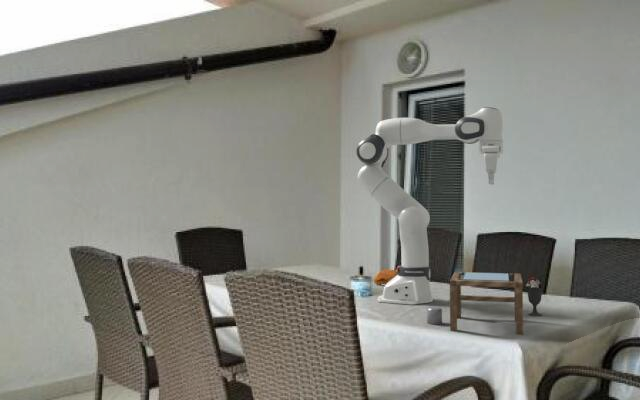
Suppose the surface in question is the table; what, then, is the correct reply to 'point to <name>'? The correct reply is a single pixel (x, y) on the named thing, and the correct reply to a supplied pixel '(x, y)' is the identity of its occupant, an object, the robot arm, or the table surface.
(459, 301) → the stand
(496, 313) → the table surface
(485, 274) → the trapdoor
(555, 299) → the table surface
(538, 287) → the sundae
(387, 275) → the croissant
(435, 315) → the gray cylinder
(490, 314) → the table surface
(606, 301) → the table surface
